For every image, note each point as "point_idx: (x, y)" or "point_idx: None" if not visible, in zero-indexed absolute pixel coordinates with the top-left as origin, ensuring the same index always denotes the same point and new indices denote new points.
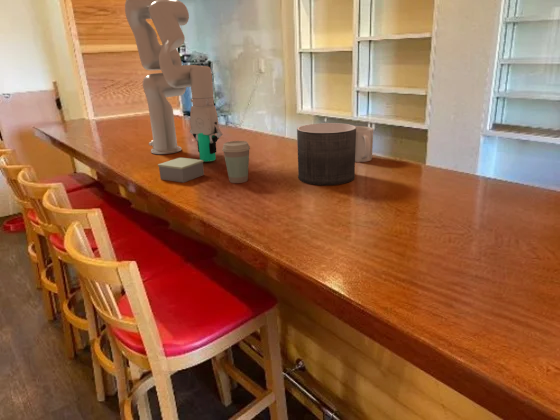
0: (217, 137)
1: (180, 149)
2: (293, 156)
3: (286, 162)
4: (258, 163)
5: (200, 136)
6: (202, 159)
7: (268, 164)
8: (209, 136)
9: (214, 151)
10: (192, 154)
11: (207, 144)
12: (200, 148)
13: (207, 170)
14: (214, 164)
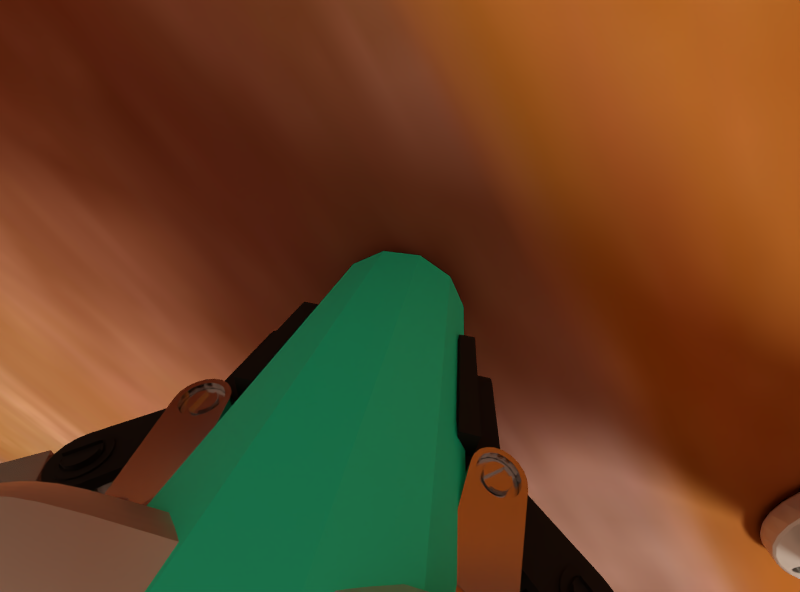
0: (45, 455)
1: (769, 532)
2: (94, 429)
3: (17, 346)
4: (93, 312)
5: (304, 486)
6: (406, 259)
7: (36, 301)
8: (156, 487)
9: None
10: (626, 456)
11: (276, 359)
12: (398, 317)
13: (203, 2)
14: (303, 239)
